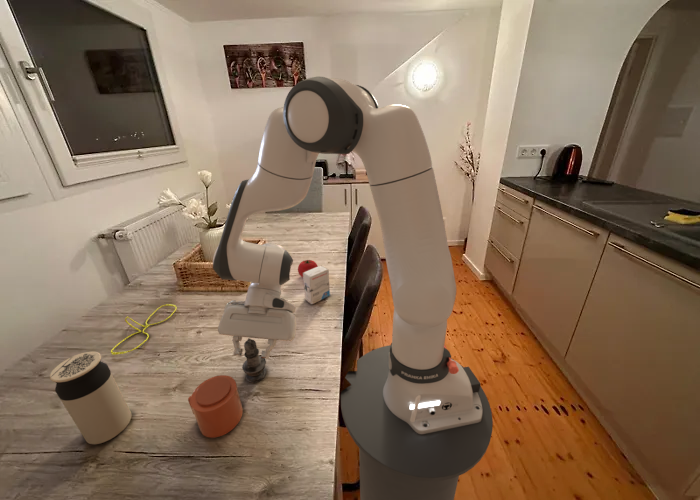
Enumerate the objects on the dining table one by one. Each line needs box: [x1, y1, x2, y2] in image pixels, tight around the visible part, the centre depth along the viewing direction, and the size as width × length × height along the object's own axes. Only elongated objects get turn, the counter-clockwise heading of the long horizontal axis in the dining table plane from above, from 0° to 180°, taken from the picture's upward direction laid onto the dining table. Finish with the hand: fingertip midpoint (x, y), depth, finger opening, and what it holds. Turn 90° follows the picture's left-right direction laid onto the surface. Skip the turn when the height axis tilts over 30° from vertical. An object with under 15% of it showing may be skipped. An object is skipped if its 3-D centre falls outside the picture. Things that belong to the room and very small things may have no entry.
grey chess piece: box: [241, 337, 268, 384], centre depth 71 cm, size 6×6×12 cm
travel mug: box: [49, 351, 132, 445], centre depth 58 cm, size 8×8×18 cm
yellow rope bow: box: [110, 303, 178, 356], centre depth 91 cm, size 25×10×5 cm, turn 178°
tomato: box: [297, 259, 319, 278], centre depth 121 cm, size 9×9×8 cm
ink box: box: [302, 265, 331, 305], centre depth 104 cm, size 9×5×12 cm, turn 132°
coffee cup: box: [187, 374, 244, 439], centre depth 61 cm, size 10×9×9 cm
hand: (251, 357), depth 71 cm, fingers open, 6 cm apart
